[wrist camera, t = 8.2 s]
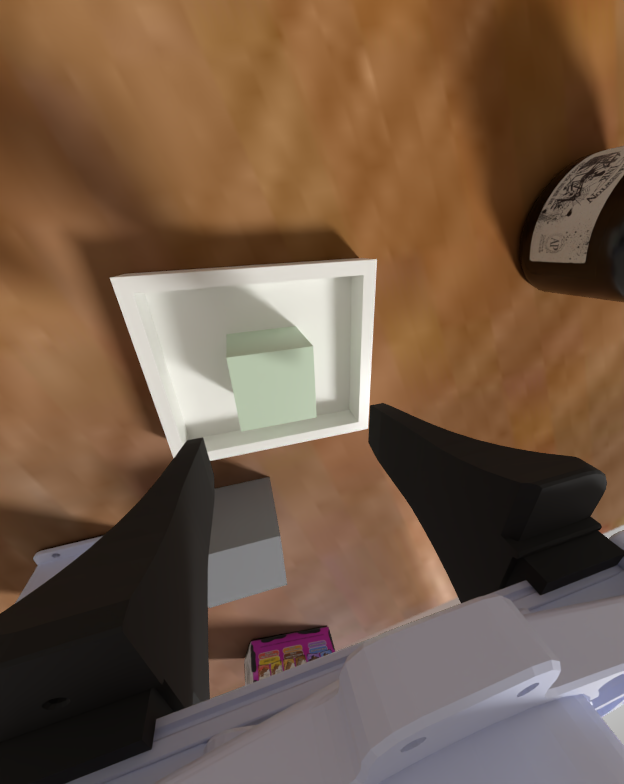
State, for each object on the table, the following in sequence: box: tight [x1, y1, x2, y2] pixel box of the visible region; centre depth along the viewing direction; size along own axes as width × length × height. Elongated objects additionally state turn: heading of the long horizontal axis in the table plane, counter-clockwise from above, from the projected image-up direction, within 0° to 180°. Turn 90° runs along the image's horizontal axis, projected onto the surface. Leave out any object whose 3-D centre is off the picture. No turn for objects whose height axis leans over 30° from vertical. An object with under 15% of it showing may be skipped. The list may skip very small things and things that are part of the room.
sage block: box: [226, 326, 317, 432], centre depth 18 cm, size 4×4×4 cm
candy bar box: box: [244, 627, 335, 686], centre depth 32 cm, size 11×5×16 cm, turn 75°
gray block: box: [208, 477, 287, 608], centre depth 23 cm, size 6×6×6 cm
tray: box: [110, 258, 377, 461], centre depth 19 cm, size 14×12×2 cm
